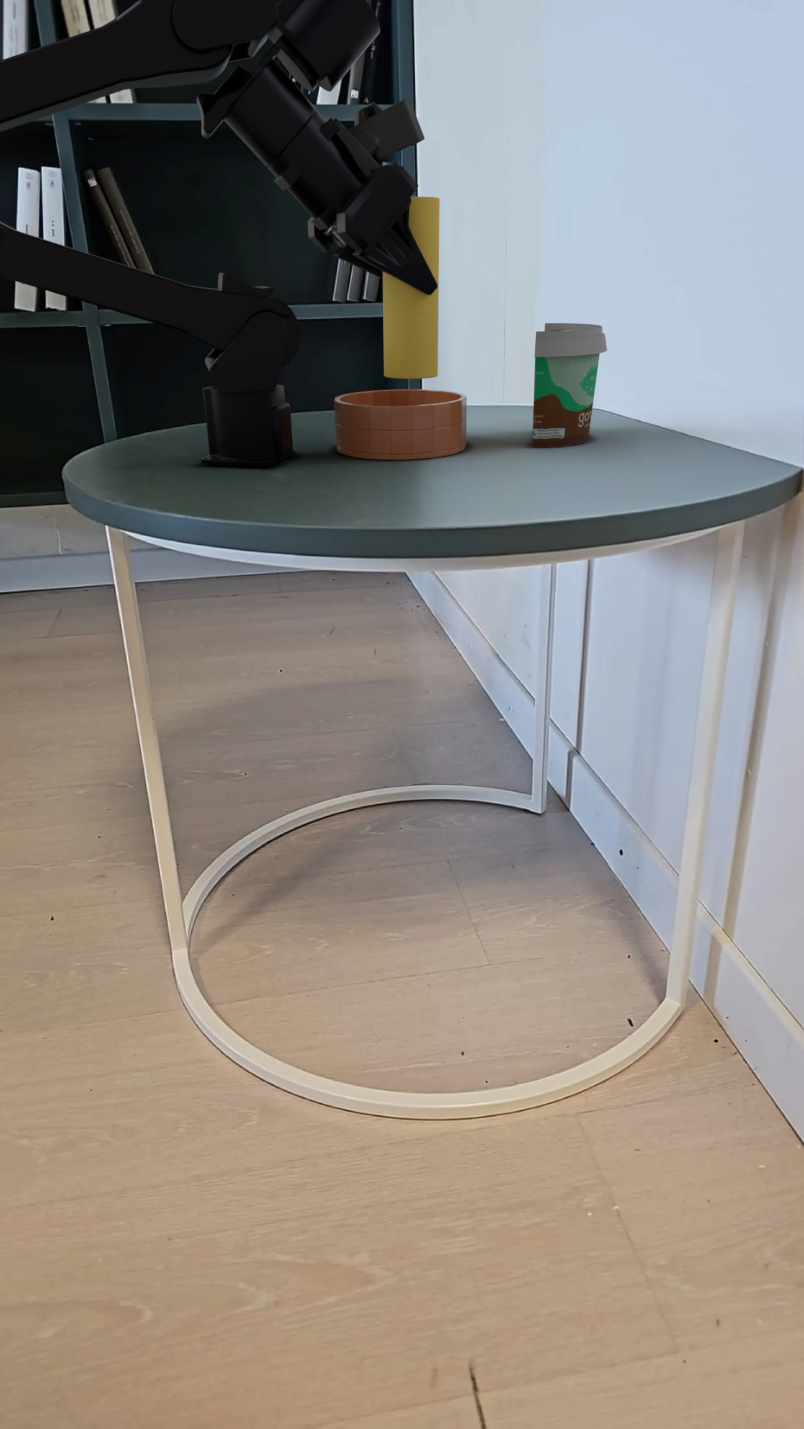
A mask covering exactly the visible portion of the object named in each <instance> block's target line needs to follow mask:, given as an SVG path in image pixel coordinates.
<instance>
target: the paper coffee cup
mask: <svg viewBox="0 0 804 1429" xmlns="http://www.w3.org/2000/svg"><path fill="white" fill-rule="evenodd" d="M534 342H535V343H534V381H533V382H534V383H533V410H532V412H533V413H532V441H531V442H532V445H531V447H532V448H552V447H553V448H554V447H567V446H575V445H579V444H583V443H586V442H588V441H589V437H590V430H591V422H592V414H593V408H594V407H593V406H594V399H595V393H596V392H595V391H596V385H597V377H598V369H599V363H600V362H599V361H600V354H602V353H603V354H604V353H606V352H607V351H608V346H607V339H606V333H604V332H603V326H602V325H600V324H593V323H578V322H576V323H573V322H569V323H568V322H544V330H543V331H542V330H541V331H540V330H537V331H535V341H534Z"/></svg>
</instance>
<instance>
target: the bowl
mask: <svg viewBox="0 0 804 1429" xmlns="http://www.w3.org/2000/svg"><path fill="white" fill-rule="evenodd" d="M467 398H468V397H467V396H466V394H464V393H460V392H456V391H449V390H441V389H423V388H422V389H420V388H419V389H418V388H402V389H397V388H396V389H377V390H375V389H374V390H365V391H356V392H350V393H345V394H342V395H339V396H336V397H334V400H333V404H334V423H335V424H334V425H335V427H334V428H335V446H336V451H337V452H338V453H340V454H341V455H343V456H347V457H353V458H357V459H365V460H380V461H381V460H382V461H406V460H407V461H409V460H410V461H411V460H422V459H423V460H424V459H425V460H426V459H433V458H442V457H446V456H447V457H448V456H452V455H455V454H458V453H460V452H462V451H464V450H465V449H466V447H467V446H466V443H467V415H468V414H467V405H468V404H467V403H468V402H467Z"/></svg>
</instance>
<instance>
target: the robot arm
mask: <svg viewBox="0 0 804 1429" xmlns="http://www.w3.org/2000/svg"><path fill="white" fill-rule="evenodd" d="M380 32H381V26H380V22H379V20H378V17H377V15H376V13H375V11H374V9H373V8H372V5H371V4H370V3H369V1H368V0H280V1H279V2H278V3H277V4H276V5H275V6H273V5H268V4H264V3H259V2H254V1H249V0H137V1H135V3H134V4H132V5H131V6H130V7H129V8H127V9H126V10H124V11H123V12H122V13H120V14H119V15H118V16H117V17H115V18H113V19H111V20H110V21H108V22H107V23H105V24H103V25H102V26H99V27H96V28H93V29H90V30H88V31H85V32H81V33H78V34H75V35H73V36H69V37H65V38H63V39H59V40H58V41H54V42H51V43H49V44H45V45H42V46H40V47H36V48H33V49H31V50H27V51H24V52H22V53H18V54H16V55H12V56H10V57H7V58H3V59H1V60H0V133H2V132H4V131H7V130H10V129H13V128H16V127H19V126H22V125H24V124H28V123H31V122H33V121H36V120H39V119H42V118H45V117H48V116H51V115H54V114H57V113H60V112H63V111H66V110H69V109H72V108H74V107H77V106H80V105H83V104H86V103H90V102H93V101H95V100H98V99H101V98H104V97H107V96H111V95H113V94H116V93H118V92H123V91H125V90H134V89H149V88H150V89H151V88H152V89H154V88H155V89H156V88H171V87H181V86H188V85H195V84H196V85H198V84H203V83H208V82H210V81H212V80H215V79H216V78H218V77H219V76H220V75H221V74H222V73H223V72H224V71H225V69H226V67H227V66H228V63H233V62H238V61H243V60H249V59H252V58H254V57H255V55H256V54H257V53H258V51H259V50H261V48H262V46H263V45H264V44H265V43H266V42H267V40H270V41H271V42H272V43H273V45H272V46H271V47H270V49H269V50H268V51H267V53H266V54H265V55H264V56H263V58H262V59H261V60H260V61H259V62H258V63H257V64H256V66H255V67H254V68H253V70H252V71H251V72H250V71H249V70H247V68H244V66H242V65H236V66H235V67H234V68H233V70H232V71H231V72H230V73H229V74H228V75H227V77H226V78H225V79H224V81H223V82H222V83H221V85H219V87H218V88H217V90H215V92H214V93H212V94H211V93H210V94H209V93H202V92H200V93H199V94H198V95H197V98H196V104H197V106H198V110H199V113H200V120H201V121H200V124H201V128H200V130H201V131H200V133H201V136H202V137H203V138H204V139H209V138H211V137H212V136H213V134H214V133H215V132H216V130H217V129H218V128H219V127H220V125H221V124H222V123H223V122H224V123H225V124H226V125H227V126H228V127H229V128H230V129H231V130H232V131H233V132H234V133H235V135H237V136H238V138H239V139H240V140H241V141H242V142H243V143H244V144H245V146H247V148H248V149H249V150H250V151H251V153H253V154H254V155H255V156H256V157H257V158H258V159H259V161H260V162H261V163H262V164H263V165H264V166H265V168H267V169H268V170H269V172H270V173H271V174H272V175H273V176H274V177H275V179H274V180H273V181H274V183H275V184H276V185H277V186H278V187H279V189H280V190H281V191H283V192H284V191H286V190H287V191H288V192H289V193H290V195H291V196H292V197H293V198H294V199H295V200H296V201H297V202H298V203H299V204H300V205H301V206H302V208H303V209H304V210H305V211H306V212H307V213H308V214H309V216H310V218H309V219H308V220H307V234H308V236H307V238H309V240H310V241H311V242H312V243H313V244H314V245H315V246H316V247H317V249H319V250H320V251H321V253H323V254H328V253H329V252H331V250H332V249H333V246H332V245H331V244H332V243H335V244H336V245H337V246H338V248H337V249H336V250H335V252H334V253H333V257H335V259H336V258H337V259H339V260H341V261H344V262H346V263H348V264H350V265H352V266H354V267H356V268H358V269H360V270H363V271H365V272H367V273H369V274H370V275H373V276H375V277H378V278H380V279H381V280H383V272H385V273H387V274H389V275H391V276H392V277H394V278H396V279H398V280H400V281H402V282H404V283H406V284H407V285H409V286H411V287H413V288H415V289H417V290H419V291H421V292H423V293H425V294H427V295H431V294H432V293H433V292H434V291H435V290H436V289H437V287H438V284H437V282H436V280H435V278H434V276H433V274H432V272H431V270H430V268H429V266H428V264H427V262H426V260H425V259H424V257H423V255H422V253H421V251H420V249H419V247H418V245H417V243H416V241H415V239H414V237H413V235H412V232H411V230H410V228H409V211H410V205H411V203H412V198H411V197H412V196H413V195H414V194H415V192H416V191H417V189H418V187H419V184H418V183H417V182H416V181H415V180H414V178H413V177H412V176H411V174H410V173H409V172H408V171H407V170H406V168H405V167H404V166H403V165H401V164H398V165H397V164H384V165H381V166H380V164H378V162H379V161H382V160H383V159H385V158H387V157H388V156H390V155H393V154H395V153H396V152H397V153H399V152H401V151H403V150H405V149H406V148H408V147H413V146H415V145H417V144H419V143H420V142H422V141H424V140H425V139H426V138H425V135H424V132H423V130H422V127H421V125H420V123H419V122H420V121H419V120H418V116H417V114H416V111H415V109H414V107H413V104H412V101H411V98H410V97H408V96H407V97H406V98H404V99H402V100H400V101H399V102H397V103H395V104H393V105H390V106H389V107H387V108H386V109H384V110H383V109H382V108H381V107H380V106H379V105H378V104H377V103H375V102H374V101H372V102H371V103H369V104H368V105H366V106H365V107H362V108H360V109H357V110H356V111H355V112H354V126H352V127H350V128H348V129H347V128H346V126H344V125H343V123H342V122H341V121H340V120H339V119H338V118H337V117H335V118H332V117H329V118H328V119H325V118H324V116H323V115H322V114H321V113H320V112H319V111H318V110H317V108H316V107H315V106H314V104H312V103H311V101H310V100H309V99H308V98H307V97H306V95H305V94H304V93H303V91H301V90H300V88H299V87H298V86H297V85H296V84H295V83H294V81H293V80H292V79H291V78H290V77H289V76H288V75H287V73H286V72H285V71H284V70H283V68H282V67H281V66H280V65H279V64H278V63H277V62H276V60H275V58H278V59H279V61H280V62H281V64H282V65H283V66H284V67H285V69H286V70H287V72H288V73H289V74H290V75H291V77H293V78H294V79H295V80H296V81H297V83H299V85H301V87H303V88H304V89H305V90H306V91H308V92H310V93H313V92H314V91H315V90H316V89H317V87H320V88H321V89H323V90H324V91H326V92H333V90H334V89H335V87H337V85H338V84H339V83H340V82H341V80H343V78H344V77H345V76H346V74H347V73H348V72H349V71H350V70H351V68H352V67H353V66H354V65H355V63H356V62H357V61H358V60H359V59H360V57H361V56H362V55H363V53H364V52H366V50H367V49H368V48H369V46H370V45H371V44H372V43H373V41H375V39H376V38H377V37H378V36H379V34H380ZM0 279H6V280H10V281H13V282H16V283H20V284H24V285H26V286H30V287H33V288H37V289H40V290H44V291H47V292H50V293H53V294H56V295H60V296H63V297H66V298H69V299H73V300H76V301H80V302H83V303H86V304H89V305H92V306H96V307H99V308H102V309H106V310H109V311H113V312H115V313H119V314H123V315H126V316H130V317H133V318H136V319H139V320H142V321H146V322H148V323H152V324H156V325H159V326H163V327H165V328H169V329H172V330H175V331H179V332H182V333H184V334H186V335H188V336H190V337H192V338H194V340H198V341H199V342H201V343H203V344H205V345H206V346H209V347H210V348H212V350H211V351H210V353H209V354H208V355H207V356H206V357H205V359H204V363H205V366H206V368H207V370H208V373H209V375H210V377H211V379H212V381H213V383H214V385H210V386H207V387H203V388H202V394H203V404H204V412H205V413H204V415H205V424H206V432H207V433H206V434H207V442H208V443H207V444H208V451H209V452H208V453H209V454H208V455H205V456H202V457H201V458H200V462H201V464H203V465H220V466H221V465H222V466H224V465H225V466H246V467H270V466H273V465H275V464H276V463H280V462H281V461H283V460H285V459H287V458H290V457H292V456H294V455H296V454H297V451H296V448H295V447H294V442H293V428H292V412H291V411H292V410H291V405H290V404H289V403H288V402H286V400H285V385H284V384H278V382H279V379H280V375H281V372H282V368H283V367H285V366H287V365H289V363H290V362H291V361H292V360H293V359H294V358H295V357H296V356H297V353H298V350H299V348H300V345H301V336H302V333H301V327H300V323H299V320H298V318H297V316H296V314H295V313H294V311H293V309H292V307H290V306H289V305H288V304H287V303H285V302H283V301H281V300H280V299H278V298H276V297H272V296H271V295H272V294H273V293H274V292H275V289H274V288H273V287H271V286H266V285H258V286H257V285H256V286H252V285H249V284H247V283H245V282H243V281H241V280H240V279H238V278H236V277H234V276H232V275H230V274H228V273H226V272H219V273H218V278H217V279H218V280H217V288H214V287H213V288H211V287H203V286H196V285H190V284H187V283H183V282H181V281H180V282H179V281H177V280H173V279H171V278H168V277H164V276H160V275H158V274H155V273H151V272H148V271H145V270H142V269H139V268H137V267H132V266H129V265H126V264H123V263H120V262H116V261H113V260H111V259H107V258H104V257H101V256H98V255H95V254H91V253H88V252H85V251H82V250H79V249H76V248H74V247H73V248H72V247H70V246H66V245H63V244H60V243H57V242H54V241H51V240H47V239H44V238H42V237H38V236H35V235H32V234H29V233H26V232H23V231H19V230H18V229H16V228H13V227H11V226H10V225H7V224H6V223H4V222H2V221H0Z"/></svg>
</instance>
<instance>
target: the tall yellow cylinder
mask: <svg viewBox="0 0 804 1429" xmlns="http://www.w3.org/2000/svg"><path fill="white" fill-rule="evenodd" d="M411 198H412V203H411V205H410V211H409V228H410V230H411V232H412V235H413V237H414V239H415V241H416V243H417V245H418V247H419V249H420V251H421V253H422V255H423V257H424V259H425V260H426V262H427V264H428V266H429V268H430V270H431V272H432V274H433V276H434V278H435V280H436V282H437V284H438V287H437V289H436V290H435V291H434V292H433V293H432V294H431V295H427V294H425V293H423V292H421V291H419V290H417V289H415V288H413V287H411V286H409V285H407V284H406V283H404V282H402V281H400V280H398V279H396V278H394V277H392V276H391V275H389V274H387V273H385V272H383V279H382V304H383V305H382V316H383V317H382V318H383V323H382V325H383V326H382V327H383V328H382V329H383V377H385V378H388V379H397V380H421V379H422V380H423V379H432V378H436V377H438V375H439V301H440V300H439V298H440V297H439V296H440V295H439V294H440V290H439V289H440V200H441V199H440V198H439V197H435V196H411Z"/></svg>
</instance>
